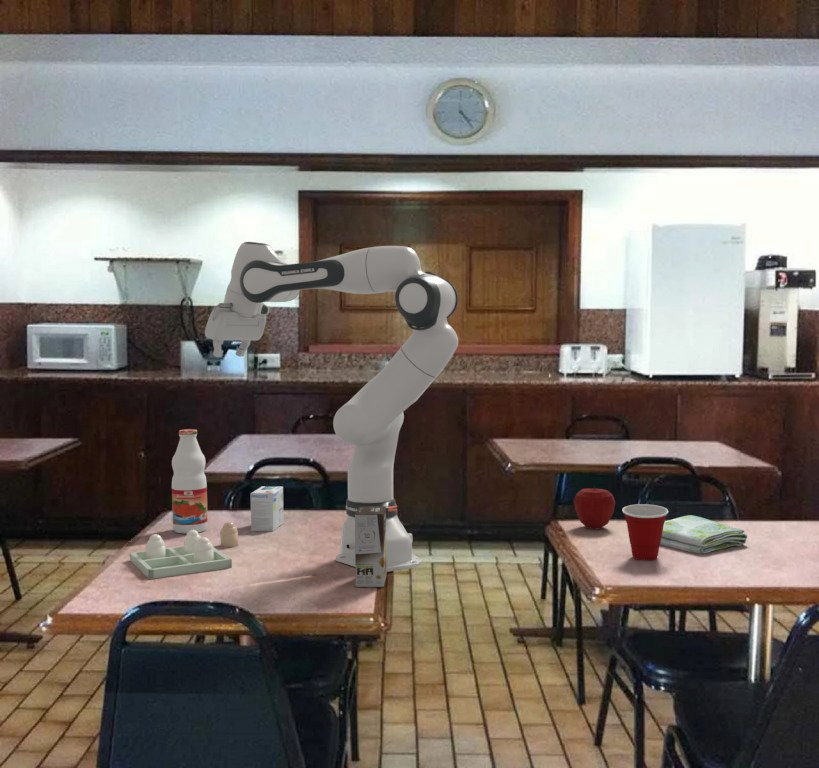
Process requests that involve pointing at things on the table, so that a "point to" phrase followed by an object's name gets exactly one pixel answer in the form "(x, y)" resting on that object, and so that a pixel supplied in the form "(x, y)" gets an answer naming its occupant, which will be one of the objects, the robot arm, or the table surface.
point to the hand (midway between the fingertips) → (228, 356)
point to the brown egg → (229, 535)
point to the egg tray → (177, 563)
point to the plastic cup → (645, 529)
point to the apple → (594, 507)
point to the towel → (700, 535)
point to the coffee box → (370, 546)
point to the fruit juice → (189, 485)
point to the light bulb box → (266, 508)
